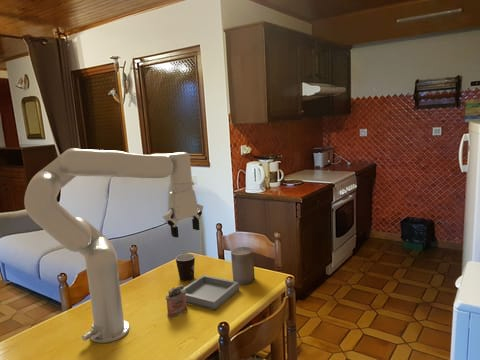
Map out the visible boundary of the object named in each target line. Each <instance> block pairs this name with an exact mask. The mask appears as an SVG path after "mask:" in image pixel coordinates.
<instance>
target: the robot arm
mask: <svg viewBox="0 0 480 360" xmlns="http://www.w3.org/2000/svg"><path fill="white" fill-rule="evenodd" d="M77 177H107V178H109V177H110V178H111V177H112V178H139V179H164V178H167V177H169V178H170V188H171V191H170V192H169V194H168V195H169V196H168V211H167V212H166V213H165V214H164V215H163V217H162V218H163V220H164V221H165V223H166V224H167V225H168V226H169V227H170V233H171V236H172V238H173V237H174V238H179V237H180V236H179V227H178V226H177V225H178V223H179V221H182V220H186V219H189V218H192V219H191V220H192V221H191V223H192V230H195V231H200V219H201V217H202V216H201V215H202V214H203V209H204V206H203V205H201V204H199V203H198V200H197V196H196V192H195V190H194V187H193V186H194V185H195V182H194V181H193V178H192V177H193V176H192V167H191V156H190V154H189V152H185V151H182V152H181V151H178V152H173V153H153V154H137V153H129V152H125V151H121V150H104V149H100V150H99V149H81V148H76V147H73V148H72V147H71V148H68V149H66V150H65V151H64V152H62V153H61V154H60V155H59V156H57V157H56V158H55V159H54V160H52V161H51V162H50V163H48V164H47V165H46V166H44V167H43V168H42V169H41V170H39V171H38V172H37V173H36V174H35V175H34V176H32V178H31V180H30V181H29V182H28V185H27V187H26V189H25V193H24V194H25V195H24V198H23V199H24V200H23V202H24V208H25V211H26V213H27V215H28V217H29V218H30V219H32V221H34V223H35V224H37V225H38V226H39V227H40V228H41V229H43V230H44V231H45V232H46V233H47V234H48V235H49V236H51V238H53V239H54V240H56V241H57V242H58V243H59V244H60V245H61V246H62V247H63V248H65V249H66V250H68V251H69V252H71V253H72V252H73V253H79V254H80V255H82V256H83V257H84V261H85V268H86V274H87V281H88V289H89V296H90V304H91V311H92V318H93V324H91V329H89V331H88V332H86V333H84V334H83V335H81V339H82V341H83V342H86V341H87V340H89V339H90V341H93V342H95V343H100V344H105V343H107V344H108V343H111V342H115V341H118V340H120V339H122V338H123V337H124V336H126V335H127V334H128V332H129V330H130V323H129V322H128V321H126V320H125V319H124V311H123V303H122V302H123V301H122V293H121V286H120V277H119V276H120V275H119V262H118V255H117V252H116V250H115V247H114V246H113V244H112V242H111V241H110V240H109V239H108V238H107V237H106V236H105V235H104V234H103V233H102V232H100V231H99V230H98V229H97V228H96V227H95V226H94V225H93V224H91V223H90V222H89V221H87V220H86V219H84V218H83V217H81V216H80V217H79V216H73V215H72V214H71V213H70V212H69V211H68V210H67V209H66V208H65V207H63V206H62V205H61V204H60V203H59V202H58V199H57V198H58V196H59V193H60V191H61V189H62V188H64V187H65V186H66V185H67V184H68V183H70V182H71V181H72V180H73V179H75V178H77Z"/></svg>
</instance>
